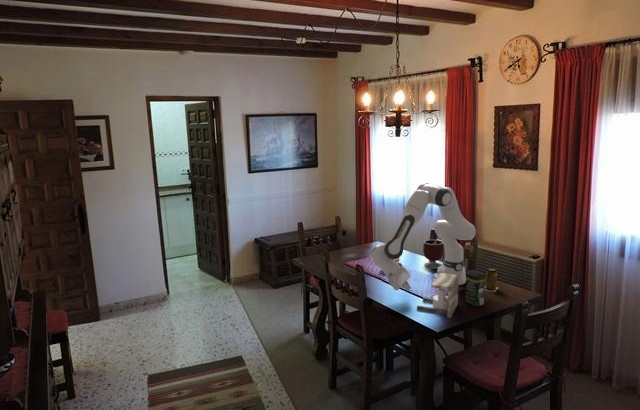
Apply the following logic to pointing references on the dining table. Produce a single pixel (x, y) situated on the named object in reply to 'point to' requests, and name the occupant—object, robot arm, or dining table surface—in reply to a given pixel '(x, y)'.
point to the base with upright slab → (440, 300)
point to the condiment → (491, 280)
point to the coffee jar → (474, 288)
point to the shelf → (451, 285)
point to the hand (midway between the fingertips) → (409, 289)
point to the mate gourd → (433, 252)
